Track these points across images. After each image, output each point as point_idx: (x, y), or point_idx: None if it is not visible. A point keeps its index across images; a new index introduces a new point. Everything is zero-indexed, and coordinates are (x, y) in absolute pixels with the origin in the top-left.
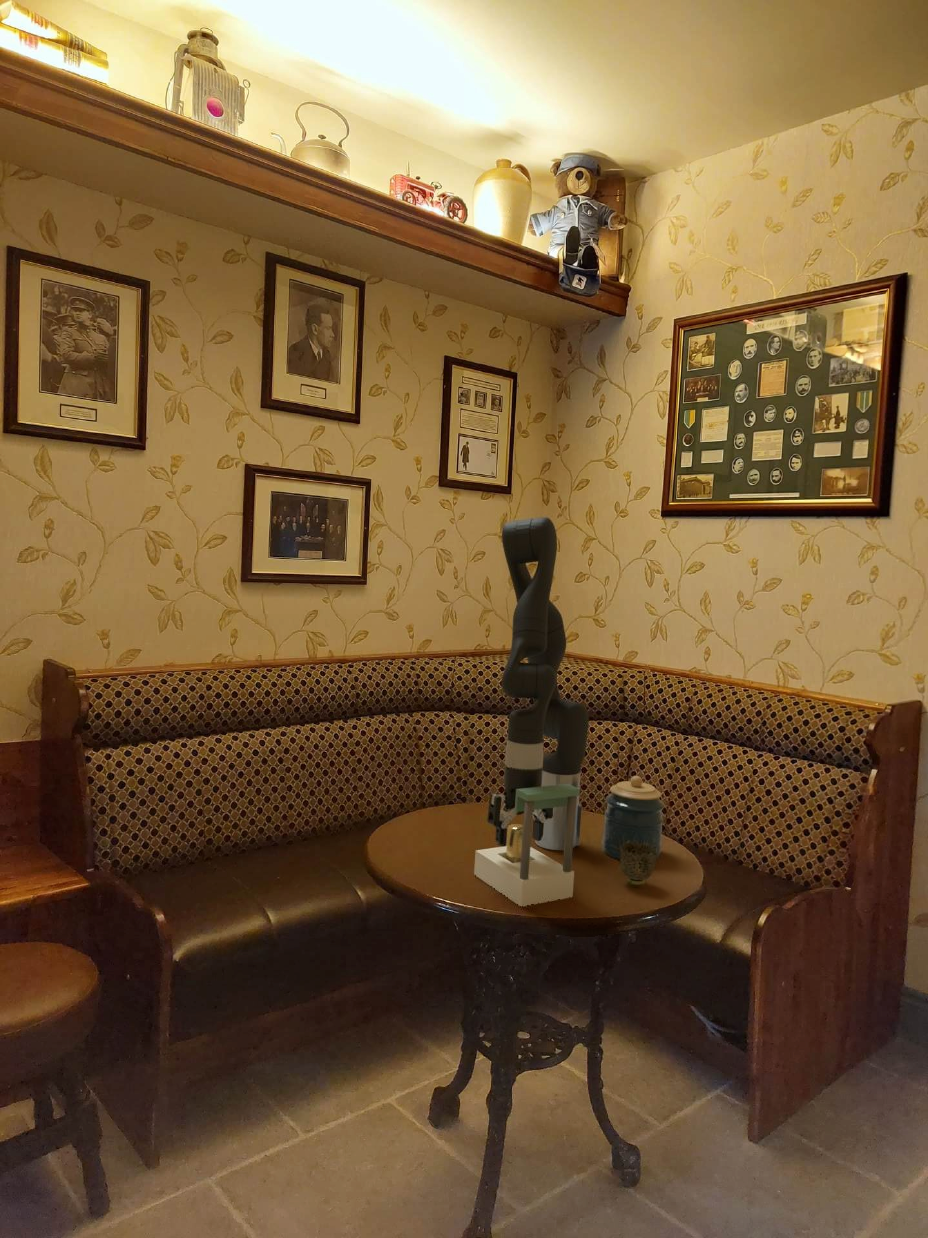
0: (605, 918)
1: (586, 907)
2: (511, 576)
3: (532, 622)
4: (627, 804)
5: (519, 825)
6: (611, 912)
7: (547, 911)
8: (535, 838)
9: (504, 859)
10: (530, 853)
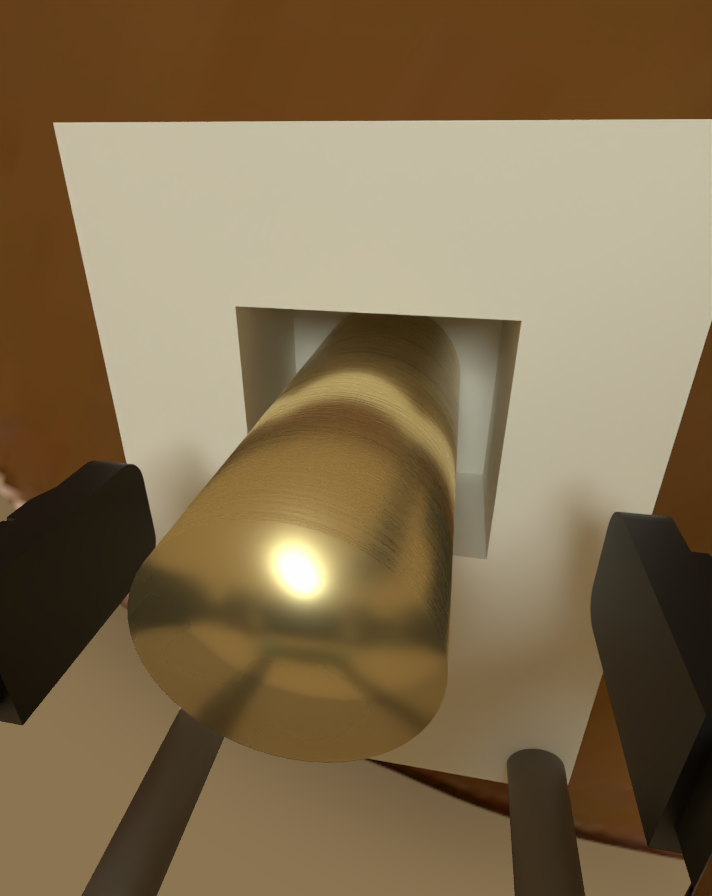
0: (504, 812)
1: None
2: None
3: None
4: None
5: (360, 618)
6: (574, 803)
7: None
8: (602, 575)
9: (231, 449)
10: (550, 438)
